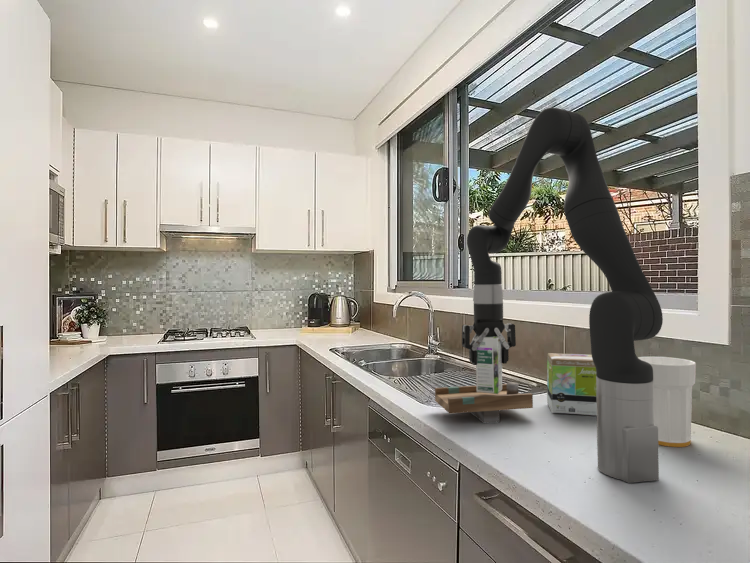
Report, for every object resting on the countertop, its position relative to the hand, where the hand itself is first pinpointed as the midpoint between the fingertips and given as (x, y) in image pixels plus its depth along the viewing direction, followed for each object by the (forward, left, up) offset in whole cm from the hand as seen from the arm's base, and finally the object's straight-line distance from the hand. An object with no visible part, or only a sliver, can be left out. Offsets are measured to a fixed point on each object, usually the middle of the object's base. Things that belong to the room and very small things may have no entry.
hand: (489, 363), depth 120 cm
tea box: (-1, -25, -14) cm, 29 cm away
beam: (0, +2, -13) cm, 14 cm away
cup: (-25, -30, -14) cm, 41 cm away
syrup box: (0, 0, -7) cm, 7 cm away
